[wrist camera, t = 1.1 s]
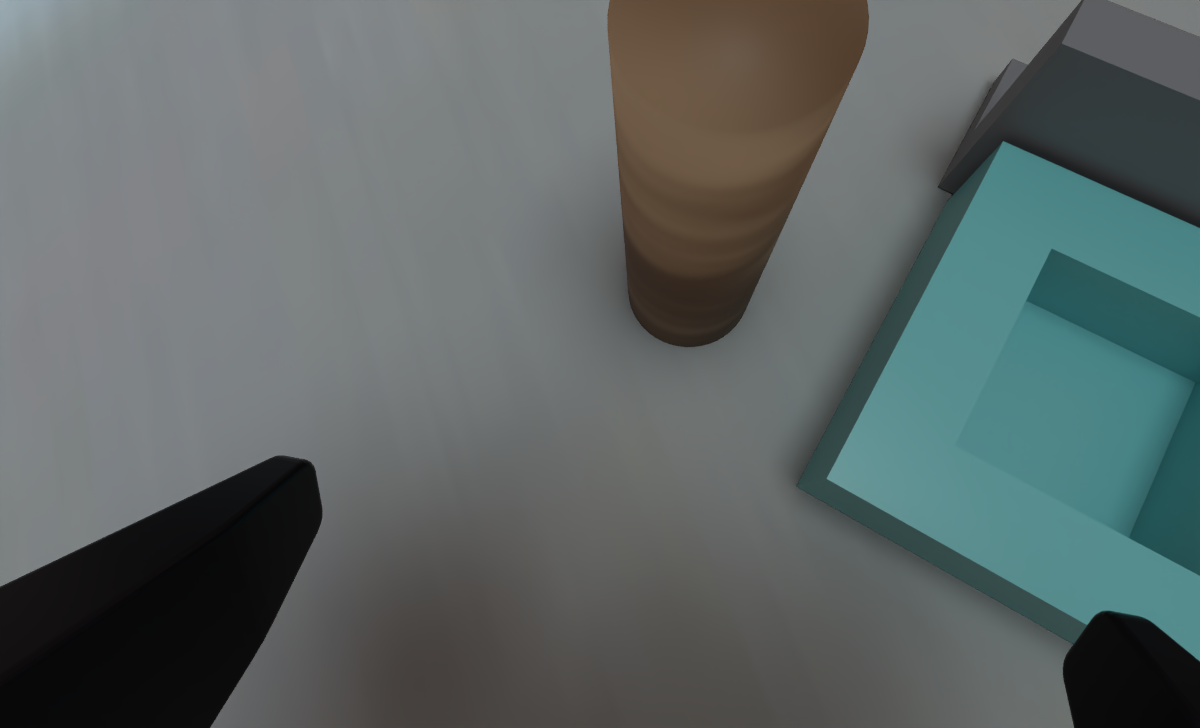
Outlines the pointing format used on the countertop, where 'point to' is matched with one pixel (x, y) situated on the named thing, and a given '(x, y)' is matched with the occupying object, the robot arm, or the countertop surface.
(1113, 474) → the socket block
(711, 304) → the dowel
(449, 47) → the countertop surface
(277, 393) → the countertop surface
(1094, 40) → the backstop wall
